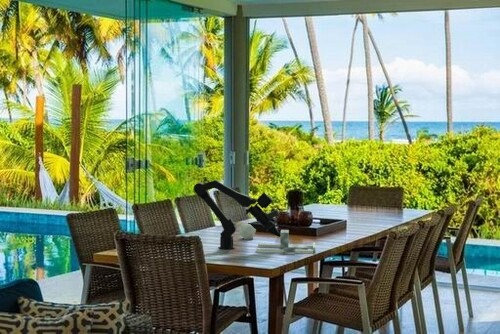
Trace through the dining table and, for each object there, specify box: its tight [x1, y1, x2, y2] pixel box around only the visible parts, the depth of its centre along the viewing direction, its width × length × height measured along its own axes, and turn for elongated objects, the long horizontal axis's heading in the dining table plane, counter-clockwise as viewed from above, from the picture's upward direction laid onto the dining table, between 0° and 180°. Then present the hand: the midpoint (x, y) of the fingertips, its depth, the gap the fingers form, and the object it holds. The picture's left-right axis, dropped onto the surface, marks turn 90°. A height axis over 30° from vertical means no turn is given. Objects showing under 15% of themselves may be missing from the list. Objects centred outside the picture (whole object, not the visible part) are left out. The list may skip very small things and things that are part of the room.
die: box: [238, 223, 257, 240], centre depth 493 cm, size 8×9×10 cm
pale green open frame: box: [255, 242, 316, 254], centre depth 454 cm, size 30×18×3 cm, turn 86°
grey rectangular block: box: [279, 229, 309, 252], centre depth 453 cm, size 14×10×10 cm
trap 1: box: [282, 252, 296, 256], centre depth 442 cm, size 6×6×1 cm
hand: (280, 236), depth 454 cm, fingers closed
